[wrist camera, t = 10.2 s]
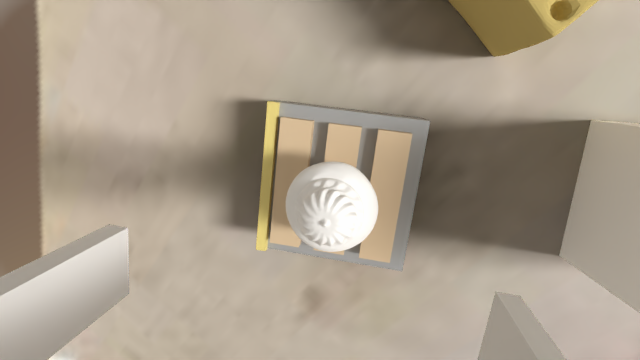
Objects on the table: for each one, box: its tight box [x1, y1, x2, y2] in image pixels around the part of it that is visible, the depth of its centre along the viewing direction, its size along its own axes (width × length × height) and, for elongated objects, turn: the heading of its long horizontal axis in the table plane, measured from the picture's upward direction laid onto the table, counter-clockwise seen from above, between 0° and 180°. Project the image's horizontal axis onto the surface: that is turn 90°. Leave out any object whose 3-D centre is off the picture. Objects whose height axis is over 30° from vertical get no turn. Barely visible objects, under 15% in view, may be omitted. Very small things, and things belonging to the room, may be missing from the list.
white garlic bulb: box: [286, 161, 378, 252], centre depth 23 cm, size 6×6×7 cm
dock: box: [256, 101, 430, 271], centre depth 29 cm, size 12×12×5 cm
